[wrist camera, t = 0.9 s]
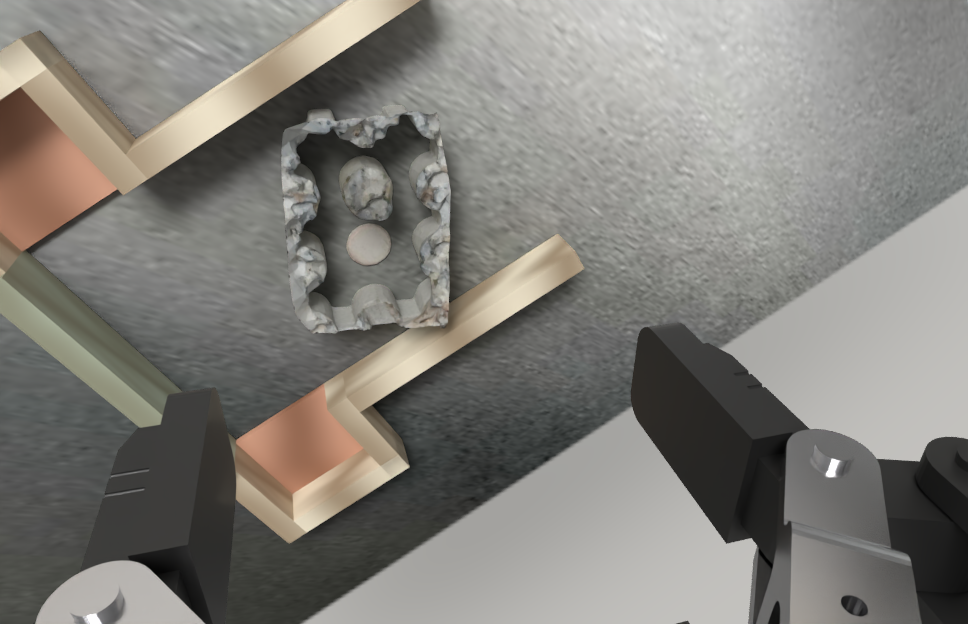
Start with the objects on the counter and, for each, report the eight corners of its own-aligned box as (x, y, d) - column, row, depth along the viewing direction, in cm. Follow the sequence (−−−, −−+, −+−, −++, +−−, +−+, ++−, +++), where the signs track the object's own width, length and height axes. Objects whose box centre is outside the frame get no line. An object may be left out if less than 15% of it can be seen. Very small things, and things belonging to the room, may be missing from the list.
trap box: (342, -172, 26) (350, -184, 23) (600, 313, 40) (622, 338, 37) (-134, 145, 26) (-177, 167, 24) (287, 512, 40) (289, 550, 38)
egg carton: (435, 301, 37) (452, 338, 33) (292, 311, 35) (295, 352, 31) (441, 100, 32) (462, 120, 28) (275, 98, 30) (276, 120, 26)
